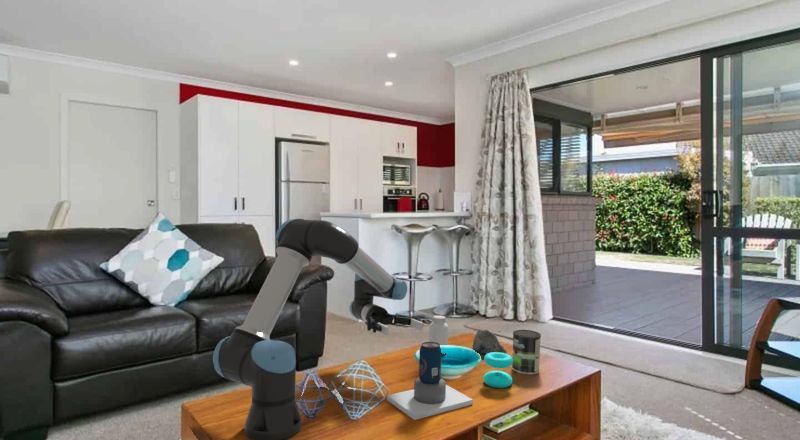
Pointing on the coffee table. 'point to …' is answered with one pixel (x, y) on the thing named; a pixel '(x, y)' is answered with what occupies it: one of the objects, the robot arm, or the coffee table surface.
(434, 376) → the soda can
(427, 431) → the coffee table surface
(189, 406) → the coffee table surface
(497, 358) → the donuts
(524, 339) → the coffee can
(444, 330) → the pill bottle
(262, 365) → the robot arm
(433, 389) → the plinth stand
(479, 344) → the mineral rock
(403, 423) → the coffee table surface
